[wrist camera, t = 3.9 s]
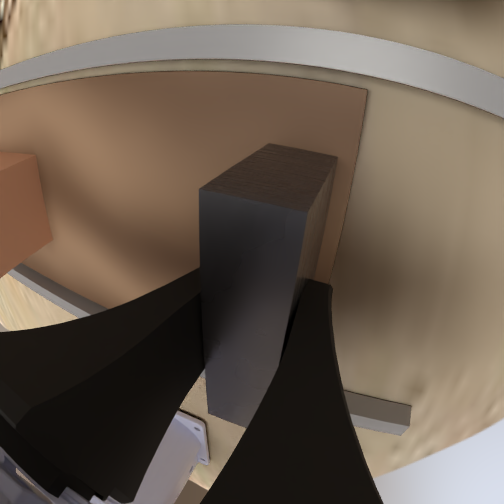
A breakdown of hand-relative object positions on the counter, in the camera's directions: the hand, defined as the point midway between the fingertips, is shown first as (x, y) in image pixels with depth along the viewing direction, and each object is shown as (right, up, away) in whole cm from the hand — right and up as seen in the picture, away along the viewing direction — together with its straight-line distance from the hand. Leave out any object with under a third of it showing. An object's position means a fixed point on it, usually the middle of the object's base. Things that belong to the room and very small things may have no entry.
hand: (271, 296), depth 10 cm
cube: (-14, +5, +5) cm, 16 cm away
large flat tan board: (-9, +4, +5) cm, 11 cm away
